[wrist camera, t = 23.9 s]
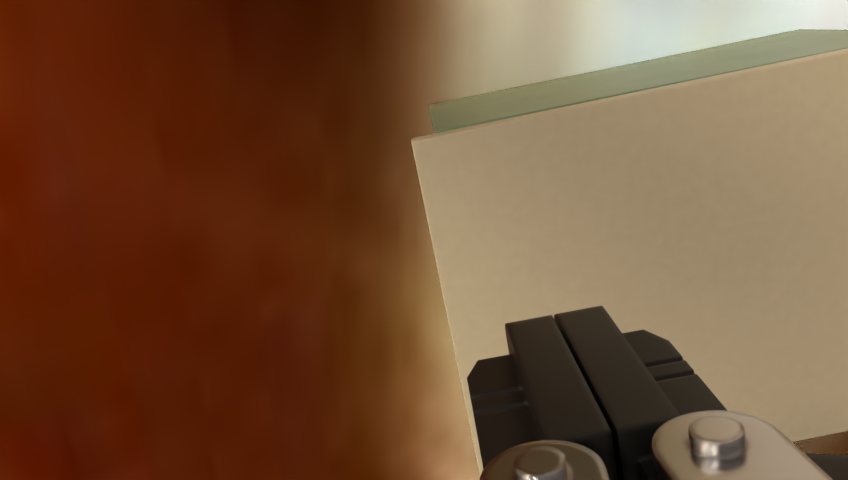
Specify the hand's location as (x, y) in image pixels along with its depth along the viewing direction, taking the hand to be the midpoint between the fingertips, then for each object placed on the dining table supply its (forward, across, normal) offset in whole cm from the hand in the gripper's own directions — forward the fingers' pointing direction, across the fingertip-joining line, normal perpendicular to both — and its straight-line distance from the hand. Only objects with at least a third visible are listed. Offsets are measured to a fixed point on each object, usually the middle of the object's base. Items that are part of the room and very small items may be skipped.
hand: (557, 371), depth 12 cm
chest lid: (+15, -7, +5) cm, 17 cm away
